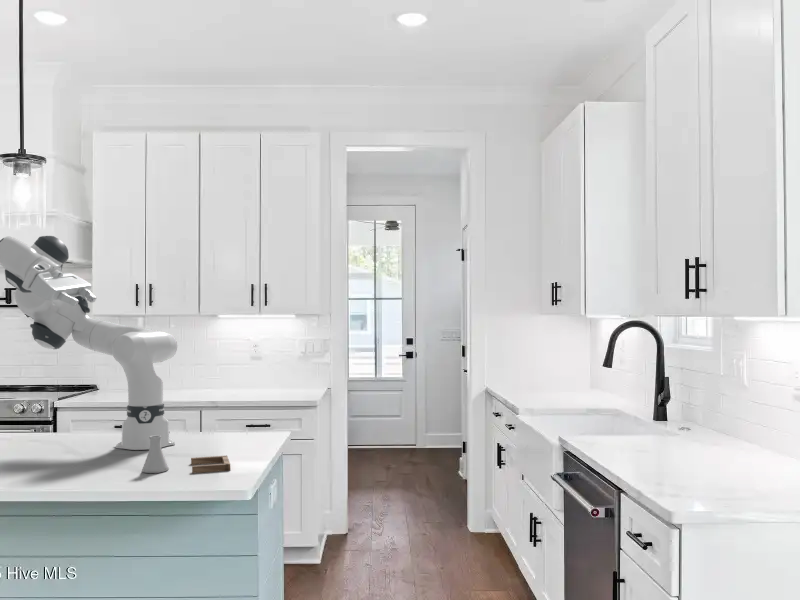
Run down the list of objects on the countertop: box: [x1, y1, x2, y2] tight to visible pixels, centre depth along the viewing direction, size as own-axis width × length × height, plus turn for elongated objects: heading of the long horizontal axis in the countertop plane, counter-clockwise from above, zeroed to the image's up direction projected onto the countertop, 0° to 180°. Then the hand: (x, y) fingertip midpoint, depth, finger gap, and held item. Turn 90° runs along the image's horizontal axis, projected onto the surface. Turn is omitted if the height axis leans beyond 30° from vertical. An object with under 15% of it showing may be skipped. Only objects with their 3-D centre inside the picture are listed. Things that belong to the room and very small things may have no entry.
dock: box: [190, 455, 231, 474], centre depth 207 cm, size 13×10×2 cm
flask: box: [141, 435, 170, 474], centre depth 202 cm, size 7×7×10 cm
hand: (85, 301), depth 199 cm, fingers open, 8 cm apart
